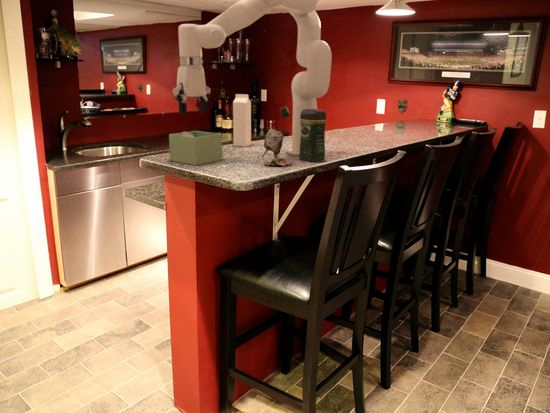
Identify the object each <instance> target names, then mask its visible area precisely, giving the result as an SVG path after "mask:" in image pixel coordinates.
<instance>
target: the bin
mask: <svg viewBox="0 0 550 413" xmlns="http://www.w3.org/2000/svg"><path fill="white" fill-rule="evenodd" d="M186 132H187V133H189V134H192V135H194V137H189V136H182V134H183V132H177V133H169V134H168V142H169V160H170V161H171V162H175V163H181V164H188V165H193V166H199V165H205V164H208V163H209V164H210V163H213V162H219V161H223V134H222V133H219V132H218V133H217V132H208V131H201V130H191V131H186Z"/></svg>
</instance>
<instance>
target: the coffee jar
mask: <svg viewBox="0 0 550 413" xmlns="http://www.w3.org/2000/svg"><path fill="white" fill-rule="evenodd" d="M300 122H301V139H300V151H299V155H298V157H299V159H300V160H302V161H306V162H318V163H319V162H322V161H324V160H326V146H325V145H326V144H325V142H326V124H327V112H326V111H325V110H323V109H318V108H317V109H305V110H303V111H302V112H301V116H300Z"/></svg>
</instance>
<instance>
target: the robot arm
mask: <svg viewBox="0 0 550 413" xmlns="http://www.w3.org/2000/svg"><path fill="white" fill-rule="evenodd" d="M320 2H321V1H320V0H238V1H236V2H235V3H233V4H232V5H231V6H230V7H228V8H227V9H226V10H225V11H223V12H222V13H221V14H219V15H218V16H216V17H214V18H213V19H212V20H211V21H209V22H207V23H206V24H197V23H182V24H180V25H178V30H177V31H178V32H177V33H178V50H179V66H178V68H177V74H176V86H175V87H174V88H173V89H172V93H173V97H174V99H175V100H176V103H178V114H179V115H181V116H182V115H183V116H186V115H187V114H188V107H187V106H188V105H187V102H186V101H187V99H188V98H198V99H199V101H198V111H199V112H198V113H200V114H207V113H208V108H207V102H208V100H209V98H210V94H211V91H212V89H211V88H210V87H209V86H207V85H206V84H207V83H206V76H205V75H206V74H205V70H204V67H203V63H204V60H203V48H204V49H207V50H208V49H216V48H219V47H221V46H222V45H223V44H224V43H225V41H226V38H227V37H229V36H231V35H232V34H234V33H235V32H237V31H240V30H242V29H245V28H247V27H249V26H251V25H252V24H253V23H255V22H256V21H258V20H259V19H260V18H262V17H263V16H265V15H266V14H267V13H269V12H270V11H271V10H273V9H275V8H276V7H279V6H282V7H285V10H286V11H287V12H288V14H290V15H291V16H292V17H293V19H294V21H295V22H296V26H297V45H296V61H297V63H298V65H299V66H300V67H303V68H306V70H305V71H300V72H298V73H296V74H295V75H294V76H293V78H292V81H291V87H290V88H291V96H292V127H291V128H292V129H291V131H292V132H291V148H289V149H287V154H289V155H293V156H299V151H300V139H301V122H300V116H301V112H302V111H303V110H305V109H317V110H318V103H317V99H320V98H322V97H324V96H325V95H326V94H327V92H328V90H329V87H330V82H331V70H332V58H333V57H332V56H333V55H332V50H331V47H330V45H329V44H328V43H327V42H326V41H324V40H322V39H321V31H322V30H321V28H322V26H321V20H320V17H319V15H318V13H317V11H316V10H317V8H318V7H319V5H320Z"/></svg>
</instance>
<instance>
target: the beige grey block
mask: <svg viewBox="0 0 550 413" xmlns="http://www.w3.org/2000/svg"><path fill="white" fill-rule="evenodd" d="M187 132H188V131H183V132H182V133H183V134H182V136H189V137H194V135H192V134H189V133H187Z"/></svg>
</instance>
